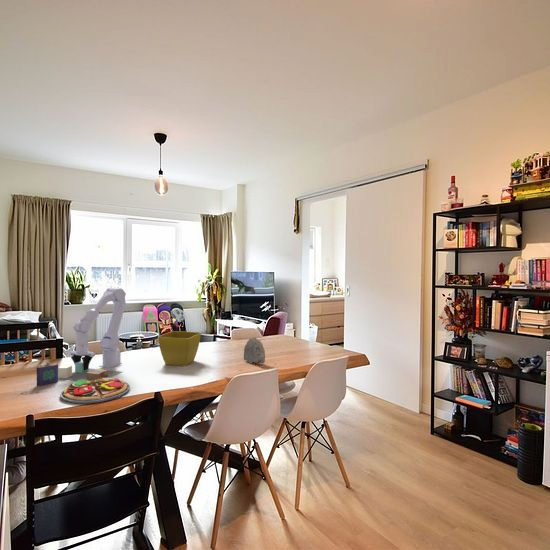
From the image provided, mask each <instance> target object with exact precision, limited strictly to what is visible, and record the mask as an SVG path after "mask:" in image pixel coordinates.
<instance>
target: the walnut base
mask: <svg viewBox="0 0 550 550" xmlns="http://www.w3.org/2000/svg"><path fill="white" fill-rule="evenodd" d="M94 369H95V370H92V371H90V372H87V373H86V379H94V380H97V379H101V378H105V377H107V376H108V370H109V369H98V368H94Z"/></svg>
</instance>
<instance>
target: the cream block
mask: <svg viewBox="0 0 550 550" xmlns="http://www.w3.org/2000/svg"><path fill="white" fill-rule="evenodd" d="M72 373H73V365H61V366H58V378H68V377H70V376H72Z"/></svg>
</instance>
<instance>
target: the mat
mask: <svg viewBox="0 0 550 550" xmlns="http://www.w3.org/2000/svg"><path fill="white" fill-rule="evenodd" d="M95 369H96V368H90V367H89V371H86V372H84V373H78V372H75V371H72V376H70V377H68V378H58V380H63V381H71V382H72V381H73V382H76V381H78V380H88V381H93V380H94V379H86V373H87V372H90V371H92V370H95ZM107 370H108V376H107V377H105V378H113V377H114V376H118V375H120V374H122V373H123V371H119V370H118V371H117V370H109V369H107Z"/></svg>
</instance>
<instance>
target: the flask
mask: <svg viewBox="0 0 550 550" xmlns="http://www.w3.org/2000/svg"><path fill="white" fill-rule="evenodd" d="M58 368H59V364H58V363H51V362H50V361H46V363H45V364H43V365H39V366H37V367H36V386H37V387H42V386H48V385H51V384H56V383H58V382H59V379H58Z"/></svg>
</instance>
